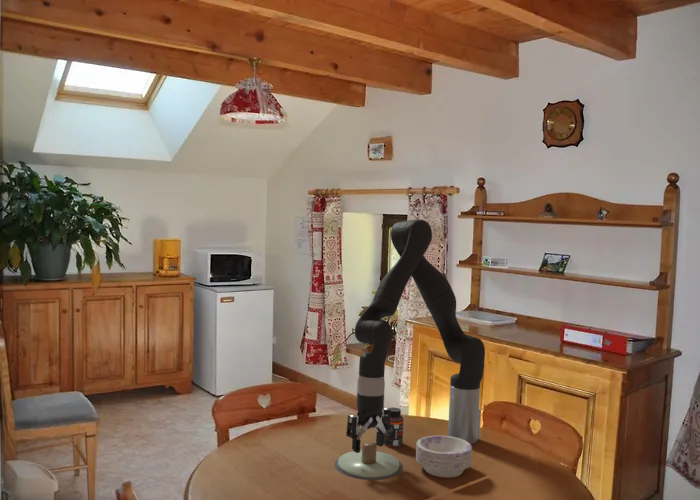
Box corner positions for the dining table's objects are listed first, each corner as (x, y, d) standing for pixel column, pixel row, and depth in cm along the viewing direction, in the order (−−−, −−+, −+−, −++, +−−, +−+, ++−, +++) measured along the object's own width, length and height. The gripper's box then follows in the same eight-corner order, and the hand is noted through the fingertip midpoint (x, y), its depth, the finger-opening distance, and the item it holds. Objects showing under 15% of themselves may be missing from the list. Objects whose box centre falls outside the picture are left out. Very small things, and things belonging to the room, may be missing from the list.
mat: (371, 449, 186) (371, 447, 186) (417, 470, 171) (417, 468, 171) (320, 464, 173) (320, 461, 173) (365, 488, 159) (365, 486, 159)
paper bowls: (431, 456, 182) (432, 430, 181) (480, 470, 173) (481, 442, 173) (404, 473, 170) (406, 444, 169) (455, 488, 161) (457, 458, 160)
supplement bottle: (401, 450, 186) (402, 413, 185) (381, 448, 187) (382, 411, 186) (403, 443, 192) (405, 407, 191) (384, 441, 193) (385, 405, 192)
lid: (370, 449, 184) (371, 429, 184) (412, 468, 171) (413, 446, 171) (325, 462, 173) (326, 441, 173) (366, 483, 160) (366, 461, 160)
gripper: (380, 384, 179) (377, 439, 180) (342, 391, 170) (339, 449, 170) (398, 390, 173) (396, 447, 174) (360, 398, 164) (357, 458, 165)
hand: (368, 448), depth 172 cm, fingers open, 8 cm apart
